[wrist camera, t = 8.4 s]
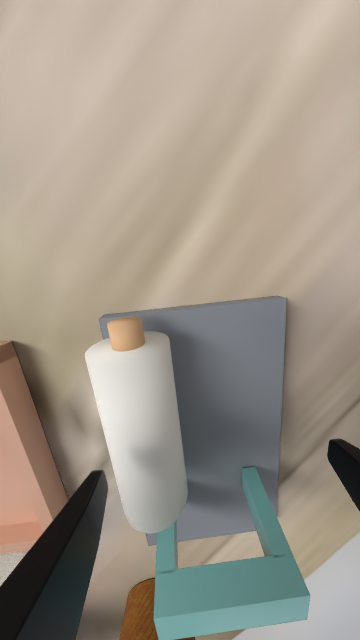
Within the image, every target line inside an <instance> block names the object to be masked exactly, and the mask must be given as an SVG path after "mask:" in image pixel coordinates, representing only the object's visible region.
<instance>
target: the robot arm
mask: <svg viewBox="0 0 360 640" xmlns="http://www.w3.org/2000/svg"><path fill="white" fill-rule="evenodd" d="M327 456H328V460H329V462H330V464H331V465H332V467H333V469H334V470H335V472H336V474H337V475H338V477H339V479H340V480H341V482H342V484H343V485H344V487H345V489H346V490H347V492H348V493H349V495H350V497H351V498H352V500H353V502H354V503H355V505H356V506H357V508H358V510H359V511H360V449H359V448H357V447H355V446H353V445H352V444H350V443H348V442H346V441H345V440H342V439H332V440H330V441H329V446H328V454H327ZM107 493H108V484H107V480H106V476H105V472H104V470H94V471H92V472H91V473H90V474H89V475H88V477H87V478H86V479H85V480H84V482H83V483H82V484H81V486H80V487H79V488H78V489H77V491H76V492H75V493H74V494H73V496H72V497H71V498H70V499H69V501H68V502H67V503H66V504H65V506H64V507H63V508H62V509H61V511H60V512H59V513H58V515H57V516H56V517H55V518H54V520H53V521H52V522H51V523H50V525H49V526H48V527H47V528H46V530H45V531H44V532H43V533H42V535H41V536H40V537H39V538H38V540H37V541H36V542H35V544H34V545H33V546H32V547H31V549H30V550H29V551H28V552H27V554H26V555H25V556H24V557H23V559H22V560H21V561H20V562H19V564H18V565H17V566H16V567H15V569H14V570H13V571H12V573H11V574H10V575H9V576H8V578H7V579H6V580H5V581H4V583H3V584H2V585H1V586H0V640H75V639H76V635H77V631H78V627H79V623H80V619H81V615H82V611H83V607H84V603H85V599H86V595H87V591H88V587H89V583H90V579H91V575H92V571H93V567H94V563H95V559H96V554H97V550H98V546H99V540H100V534H101V529H102V523H103V517H104V511H105V505H106V499H107Z"/></svg>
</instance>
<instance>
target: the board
mask: <svg viewBox="0 0 360 640" xmlns="http://www.w3.org/2000/svg"><path fill="white" fill-rule="evenodd" d="M286 302H287V298H284V297H280V296H271V297H262V298H253V299H244V300H235V301H226V302H216V303H207V304H198V305H189V306H180V307H171V308H162V309H153V310H144V311H135V312H125V313H116V314H107V315H103V316H102V317H101V318H99V323H100V327H101V332H102V337H103V340H104V339H107V338H109V337H110V336H109V332H108V327H107V323H109V322H110V321H113V320H116V319H120V318H125V317H140V318H141V319H142V325H143V331H156V332H161V333H164V334H165V335H167V336H168V337H169V341H170V349H171V357H172V365H173V374H174V382H175V390H176V398H177V406H178V414H179V422H180V430H181V438H182V447H183V455H184V463H185V471H186V479H187V488H188V493H187V500H186V504H185V507H184V509H183V511H182V513H181V515H180V516H179V517H178V519H177V542H180V541H187V540H194V539H201V538H209V537H216V536H223V535H230V534H237V533H244V532H252V531H256V528H255V525H254V522H253V519H252V516H251V513H250V509H249V506H248V503H247V500H246V497H245V494H244V491H243V488H242V468H250V467H255V468H256V470H257V472H258V475H259V477H260V479H261V482H262V484H263V486H264V489H265V491H266V493H267V496H268V498H269V500H270V503H271V505H272V507H273V510H274V512H275V514H276V517H277V499H278V477H279V456H280V434H281V412H282V390H283V368H284V346H285V324H286ZM146 537H147V541H148V546H151V545H157V533H151V534H148V533H146Z"/></svg>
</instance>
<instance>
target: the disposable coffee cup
mask: <svg viewBox="0 0 360 640" xmlns="http://www.w3.org/2000/svg"><path fill="white" fill-rule="evenodd" d="M154 597H155V579H150V580H147V581H144V582H142V583H140V584H138V585H137V586H135V587H134V588H133V589H132V590H131V591H130V592H129V595H128V599H127V604H126V609H125V614H124V619H123V624H122V629H121V634H120V639H119V640H159V639H158V635H157V631H156V627H155V623H154ZM175 640H195V637H189V638H182V639H175Z"/></svg>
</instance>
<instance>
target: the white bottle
mask: <svg viewBox="0 0 360 640" xmlns="http://www.w3.org/2000/svg"><path fill="white" fill-rule="evenodd" d="M107 327H108V332H109V336H110V337H109V338H107V339H104V340H102V341H100V342H98V343H96V344H94V345H93V346H91V347H90V348H89V349H88V350H87V351H86V353H85V359H86V363H87V367H88V371H89V375H90V379H91V383H92V387H93V391H94V395H95V399H96V403H97V407H98V411H99V415H100V418H101V422H102V426H103V430H104V434H105V438H106V442H107V446H108V450H109V454H110V458H111V462H112V466H113V470H114V474H115V478H116V482H117V486H118V490H119V494H120V498H121V501H122V505H123V509H124V513H125V516H126V519H127V521H128V522H129V524H130V525H131V526H132V527H133V528H134V529H136V530H137V531H139V532H142V533H148V534H151V533H157V532H161V531H163V530H165V529H166V528H168V527H170V526H171V525H172V524H173V523H174V522H175V521H176V520H177V519H178V517H179V516H180V515H181V513H182V511H183V509H184V507H185V504H186V500H187V493H188V488H187V479H186V471H185V463H184V455H183V447H182V438H181V430H180V422H179V414H178V406H177V398H176V390H175V382H174V374H173V365H172V357H171V349H170V341H169V337H168V336H167V335H165V334H164V333H161V332H156V331H143V325H142V319H141V318H140V317H125V318H120V319H116V320H113V321H110V322H109V323H107Z"/></svg>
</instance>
